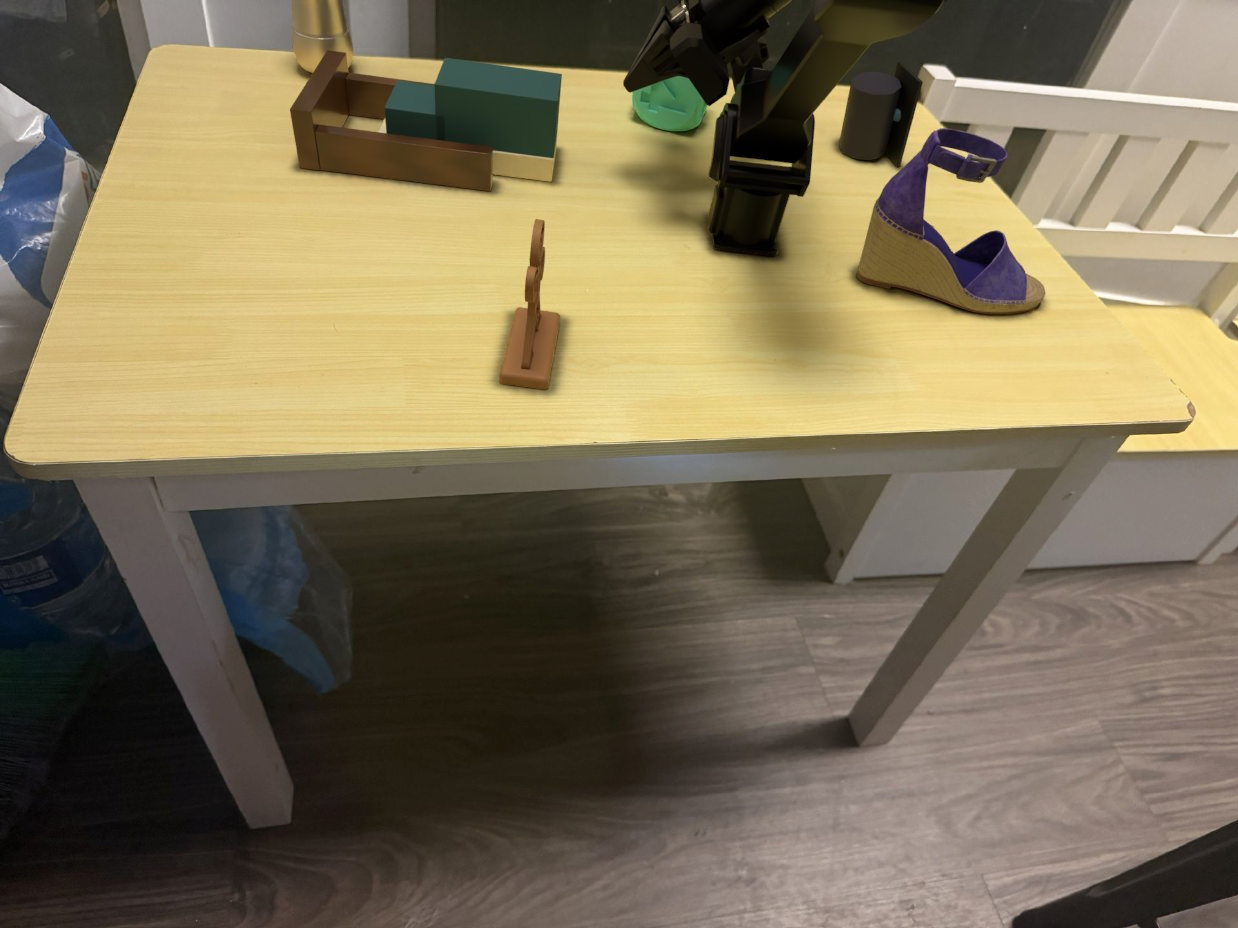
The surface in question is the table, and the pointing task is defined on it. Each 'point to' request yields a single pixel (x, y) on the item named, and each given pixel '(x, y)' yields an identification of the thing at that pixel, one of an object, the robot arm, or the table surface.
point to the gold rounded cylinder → (319, 31)
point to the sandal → (919, 253)
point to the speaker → (880, 114)
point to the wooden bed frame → (374, 134)
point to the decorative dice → (670, 104)
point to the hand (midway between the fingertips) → (625, 87)
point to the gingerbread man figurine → (531, 328)
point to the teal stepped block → (484, 113)
